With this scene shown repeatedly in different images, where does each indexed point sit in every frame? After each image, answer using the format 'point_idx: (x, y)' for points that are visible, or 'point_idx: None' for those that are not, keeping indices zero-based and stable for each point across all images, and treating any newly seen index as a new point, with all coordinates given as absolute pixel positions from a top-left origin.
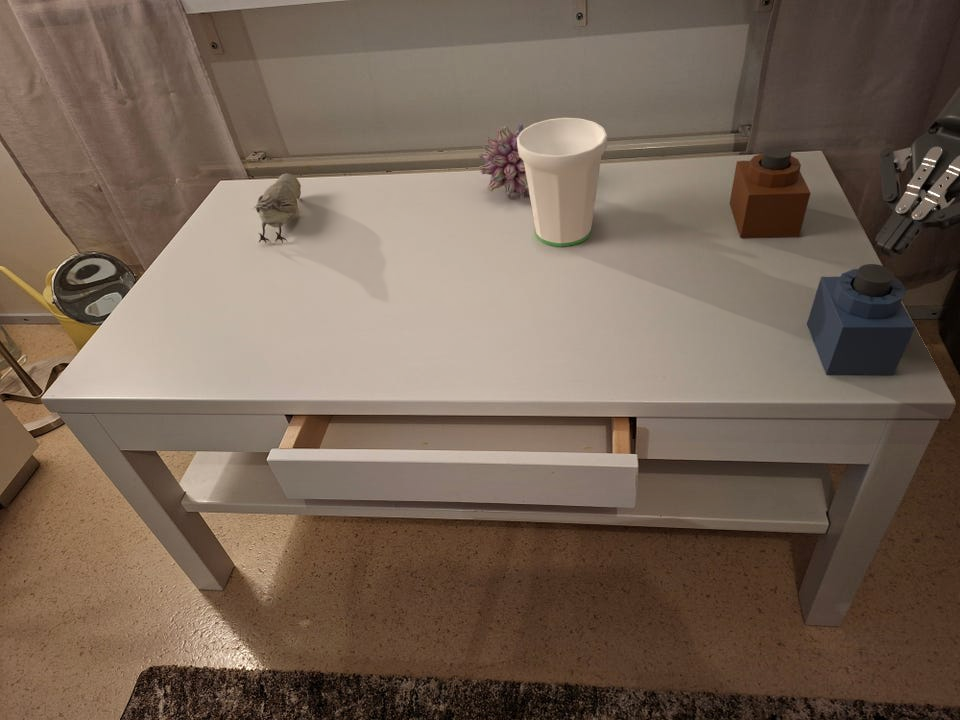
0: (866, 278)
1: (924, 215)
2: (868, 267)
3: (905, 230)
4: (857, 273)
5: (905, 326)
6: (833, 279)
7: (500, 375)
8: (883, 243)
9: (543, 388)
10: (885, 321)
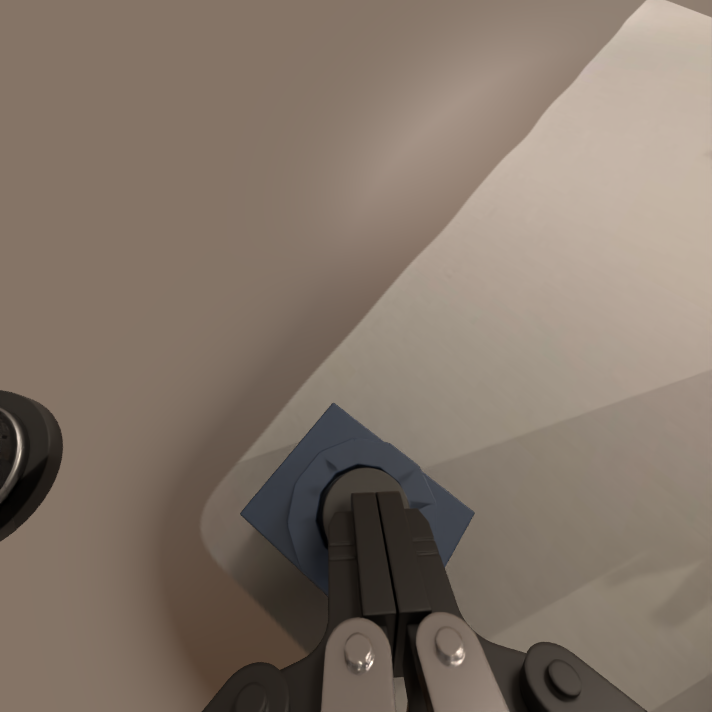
0: (366, 471)
1: (329, 659)
2: None
3: (358, 569)
4: (396, 481)
5: (255, 498)
6: (453, 527)
7: (535, 171)
8: (383, 498)
9: (497, 187)
10: (290, 479)
